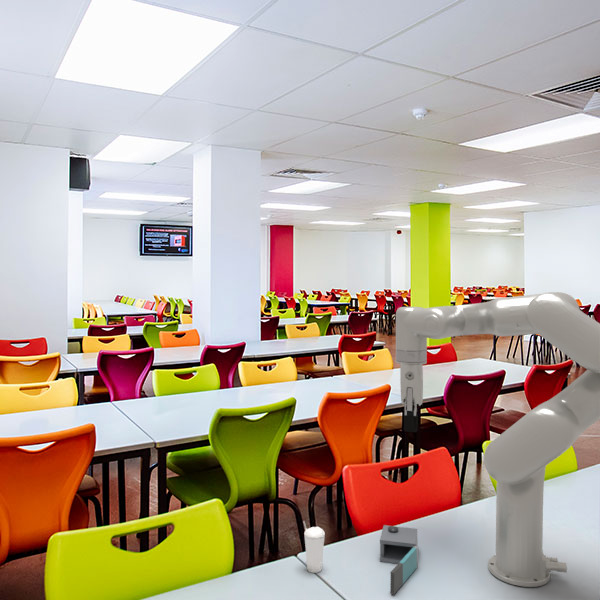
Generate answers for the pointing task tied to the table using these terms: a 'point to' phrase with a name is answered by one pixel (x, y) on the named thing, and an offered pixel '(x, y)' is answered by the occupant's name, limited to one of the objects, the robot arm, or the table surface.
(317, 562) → the milkshake
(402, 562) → the door
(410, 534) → the camera case
